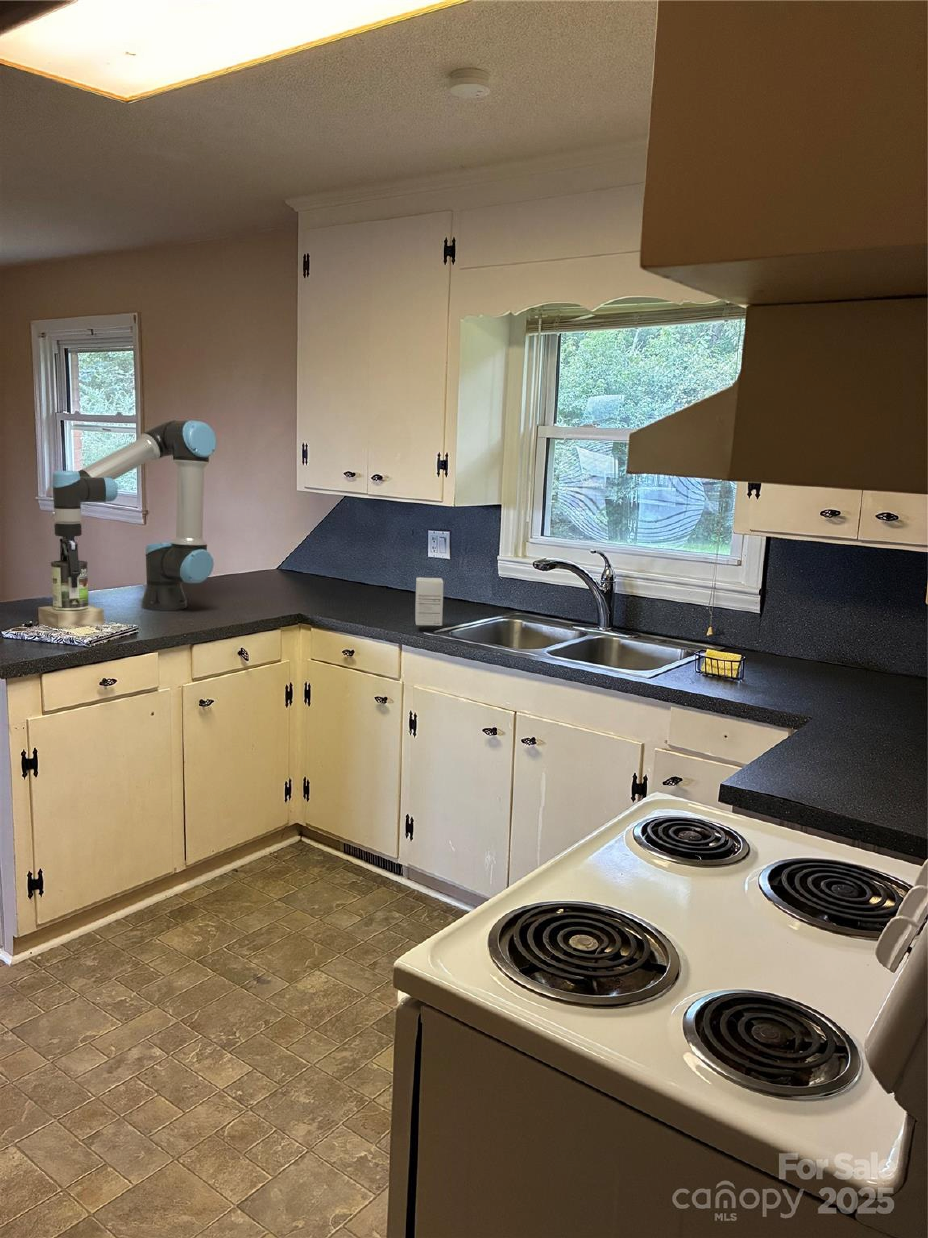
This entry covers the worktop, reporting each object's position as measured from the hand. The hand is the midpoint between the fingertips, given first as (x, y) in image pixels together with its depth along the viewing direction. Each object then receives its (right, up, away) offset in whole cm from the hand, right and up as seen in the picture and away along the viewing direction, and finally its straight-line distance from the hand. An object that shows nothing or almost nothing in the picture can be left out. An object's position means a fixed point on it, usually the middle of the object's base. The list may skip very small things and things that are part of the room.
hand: (70, 595), depth 285 cm
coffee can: (0, -4, +1) cm, 4 cm away
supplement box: (+108, -9, +30) cm, 112 cm away
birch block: (0, -10, +2) cm, 10 cm away
